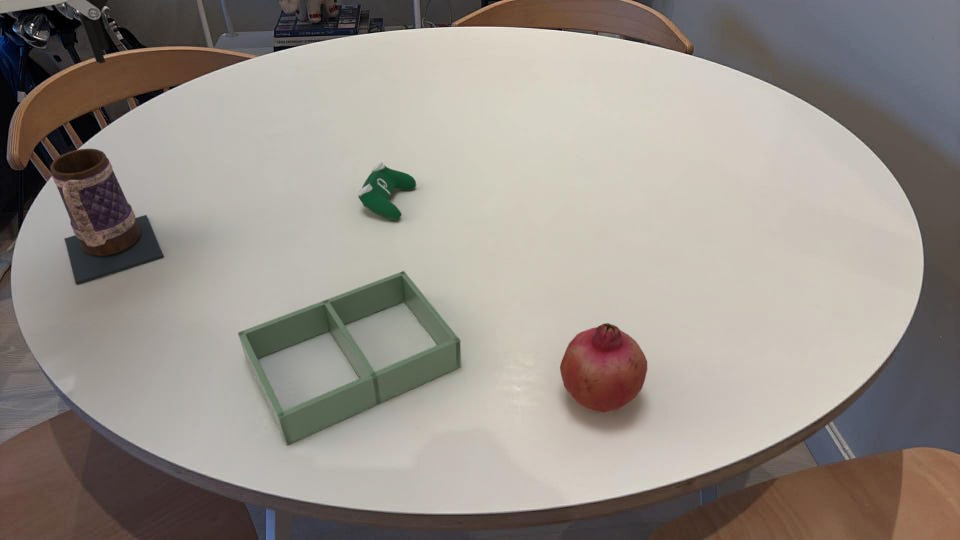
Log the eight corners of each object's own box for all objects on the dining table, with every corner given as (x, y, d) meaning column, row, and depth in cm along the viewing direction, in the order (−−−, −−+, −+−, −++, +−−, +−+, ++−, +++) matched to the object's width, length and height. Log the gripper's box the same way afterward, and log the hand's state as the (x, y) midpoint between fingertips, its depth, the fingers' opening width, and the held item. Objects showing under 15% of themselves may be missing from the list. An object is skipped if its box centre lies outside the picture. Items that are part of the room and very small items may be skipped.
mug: (87, 227, 91) (51, 146, 83) (145, 220, 92) (114, 140, 84) (70, 278, 83) (28, 193, 75) (134, 269, 84) (98, 185, 76)
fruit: (576, 440, 66) (587, 368, 59) (545, 377, 72) (552, 306, 65) (654, 420, 67) (672, 348, 61) (617, 360, 73) (631, 289, 67)
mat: (76, 284, 83) (75, 282, 82) (65, 240, 89) (64, 238, 89) (163, 257, 87) (163, 254, 86) (147, 217, 93) (146, 214, 93)
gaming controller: (403, 194, 100) (371, 166, 98) (420, 180, 98) (388, 151, 96) (384, 232, 93) (349, 203, 91) (401, 218, 91) (367, 187, 89)
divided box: (286, 445, 65) (278, 418, 63) (246, 359, 73) (237, 332, 71) (461, 367, 73) (460, 340, 70) (406, 296, 81) (403, 270, 78)
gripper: (71, -157, 60) (133, 38, 71) (-176, -138, 53) (-66, 75, 64) (85, -145, 55) (149, 63, 66) (-185, -122, 48) (-64, 106, 59)
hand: (44, 69), depth 65 cm, fingers open, 9 cm apart
